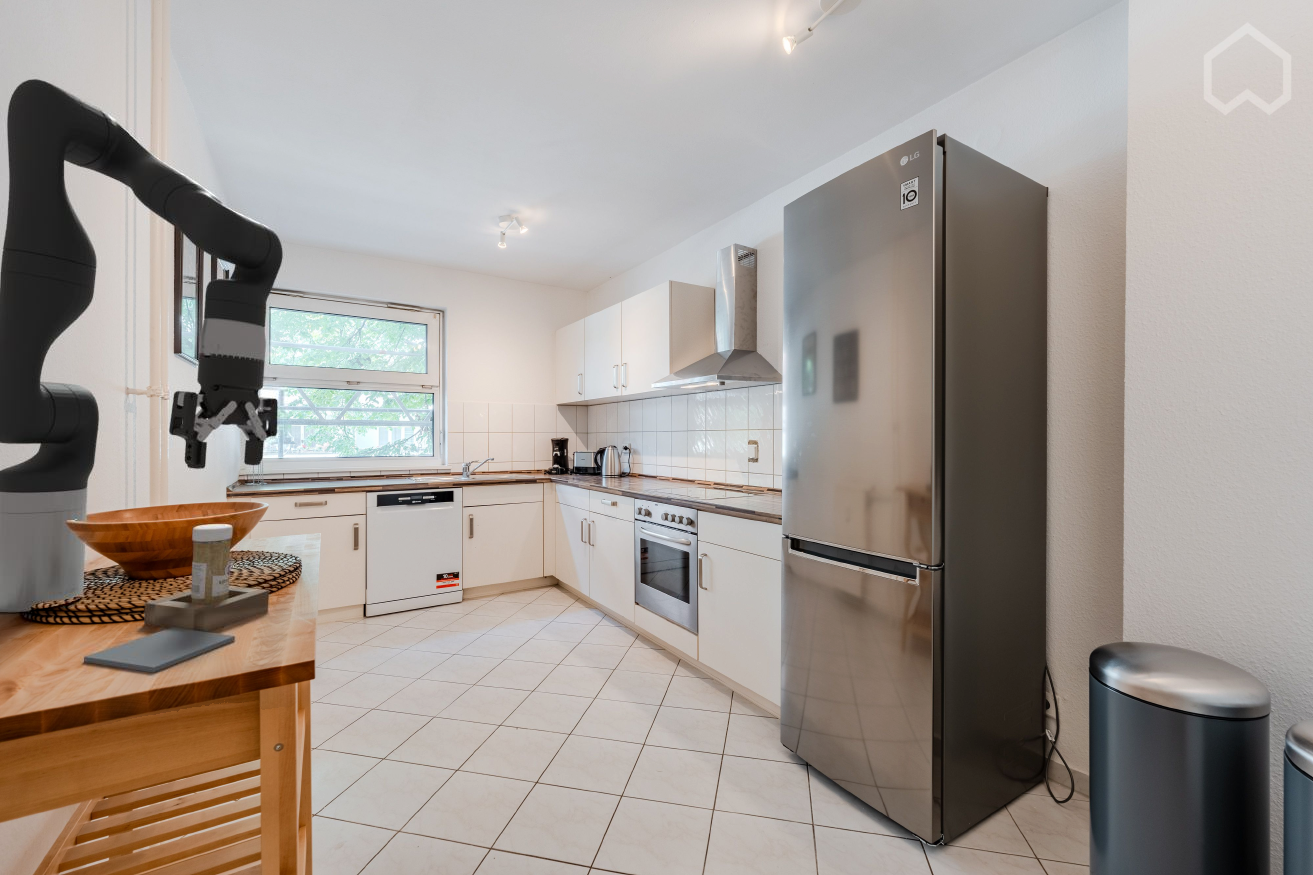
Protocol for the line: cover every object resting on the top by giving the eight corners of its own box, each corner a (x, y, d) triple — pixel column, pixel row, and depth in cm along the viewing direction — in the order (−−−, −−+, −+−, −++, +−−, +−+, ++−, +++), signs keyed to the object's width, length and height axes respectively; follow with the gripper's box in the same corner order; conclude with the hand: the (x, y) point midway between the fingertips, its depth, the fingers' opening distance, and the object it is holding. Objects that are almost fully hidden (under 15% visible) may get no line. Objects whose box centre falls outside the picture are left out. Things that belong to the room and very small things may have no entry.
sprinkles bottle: (230, 617, 80) (234, 526, 80) (190, 624, 77) (194, 529, 77) (226, 609, 84) (230, 522, 84) (187, 615, 81) (191, 524, 80)
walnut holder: (144, 624, 77) (145, 602, 76) (213, 602, 86) (214, 583, 86) (204, 632, 75) (205, 610, 75) (268, 609, 85) (268, 590, 85)
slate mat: (83, 661, 65) (84, 656, 65) (172, 631, 74) (172, 627, 74) (153, 672, 63) (153, 667, 63) (234, 640, 73) (234, 635, 73)
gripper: (255, 360, 87) (248, 461, 87) (158, 345, 73) (150, 466, 73) (296, 363, 85) (288, 466, 86) (206, 348, 71) (197, 472, 72)
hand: (225, 466), depth 79 cm, fingers open, 8 cm apart
